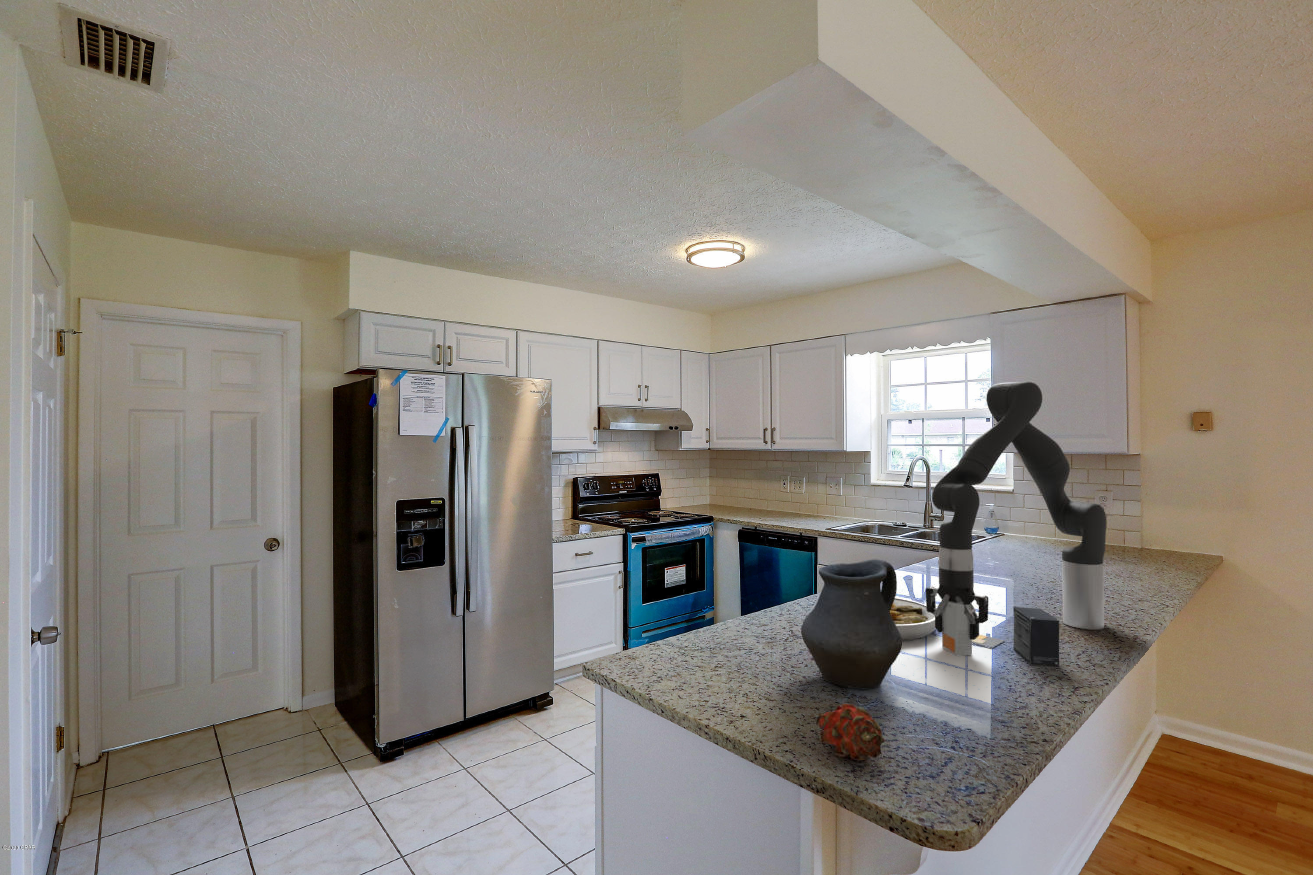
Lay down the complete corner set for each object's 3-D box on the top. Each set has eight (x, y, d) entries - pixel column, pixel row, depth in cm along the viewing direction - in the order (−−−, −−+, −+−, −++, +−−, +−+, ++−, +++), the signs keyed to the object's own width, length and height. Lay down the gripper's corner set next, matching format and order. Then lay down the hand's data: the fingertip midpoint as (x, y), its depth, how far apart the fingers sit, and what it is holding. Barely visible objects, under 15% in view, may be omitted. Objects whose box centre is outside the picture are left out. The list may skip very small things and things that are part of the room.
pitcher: (782, 671, 135) (781, 558, 135) (859, 656, 143) (858, 550, 144) (845, 708, 116) (844, 576, 116) (930, 689, 125) (929, 566, 125)
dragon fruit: (884, 783, 93) (820, 763, 103) (904, 735, 98) (841, 720, 108) (858, 746, 91) (795, 729, 101) (880, 699, 96) (818, 687, 105)
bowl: (946, 621, 172) (945, 593, 172) (929, 652, 147) (928, 620, 147) (839, 606, 188) (838, 580, 188) (806, 632, 163) (806, 603, 163)
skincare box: (941, 647, 150) (940, 598, 150) (958, 646, 150) (957, 597, 150) (955, 656, 144) (955, 604, 144) (973, 655, 144) (972, 604, 144)
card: (963, 632, 161) (963, 630, 161) (1005, 641, 153) (1005, 639, 153) (950, 638, 156) (950, 637, 156) (992, 648, 148) (992, 647, 148)
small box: (1062, 667, 136) (1061, 620, 136) (1029, 665, 137) (1029, 618, 137) (1042, 651, 146) (1041, 607, 146) (1012, 649, 148) (1011, 605, 148)
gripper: (994, 568, 144) (994, 638, 144) (933, 559, 155) (933, 625, 155) (981, 573, 139) (981, 646, 139) (919, 564, 150) (919, 631, 150)
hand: (956, 634), depth 147 cm, fingers closed on skincare box, 7 cm apart
